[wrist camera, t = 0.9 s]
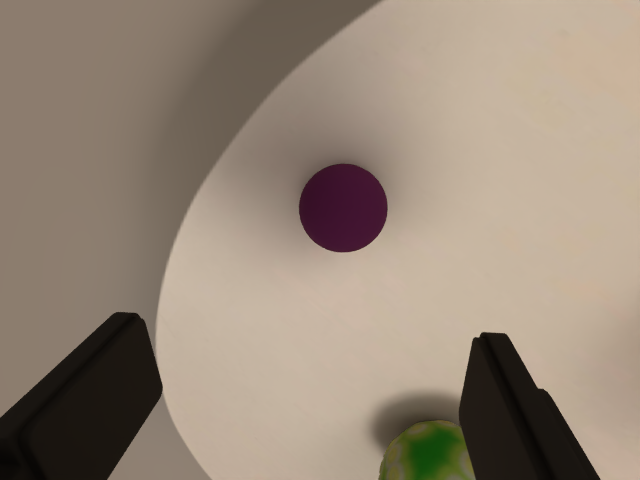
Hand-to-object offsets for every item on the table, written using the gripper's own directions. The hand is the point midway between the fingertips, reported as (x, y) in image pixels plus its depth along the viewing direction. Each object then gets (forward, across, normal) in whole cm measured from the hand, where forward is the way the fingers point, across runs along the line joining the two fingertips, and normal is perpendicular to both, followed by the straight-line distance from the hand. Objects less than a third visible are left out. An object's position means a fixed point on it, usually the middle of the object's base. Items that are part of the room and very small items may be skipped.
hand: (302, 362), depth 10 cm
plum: (+15, 0, 0) cm, 15 cm away
